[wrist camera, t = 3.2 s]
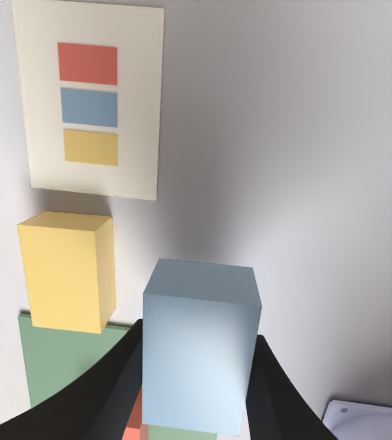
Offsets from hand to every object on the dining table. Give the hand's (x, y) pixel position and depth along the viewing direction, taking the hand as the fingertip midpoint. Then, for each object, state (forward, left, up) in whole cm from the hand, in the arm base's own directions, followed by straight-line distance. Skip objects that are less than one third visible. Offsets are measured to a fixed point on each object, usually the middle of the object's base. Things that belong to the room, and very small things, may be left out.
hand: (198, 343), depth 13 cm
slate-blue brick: (0, 0, -2) cm, 2 cm away
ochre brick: (+9, 0, -6) cm, 11 cm away
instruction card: (+8, -10, -6) cm, 14 cm away
